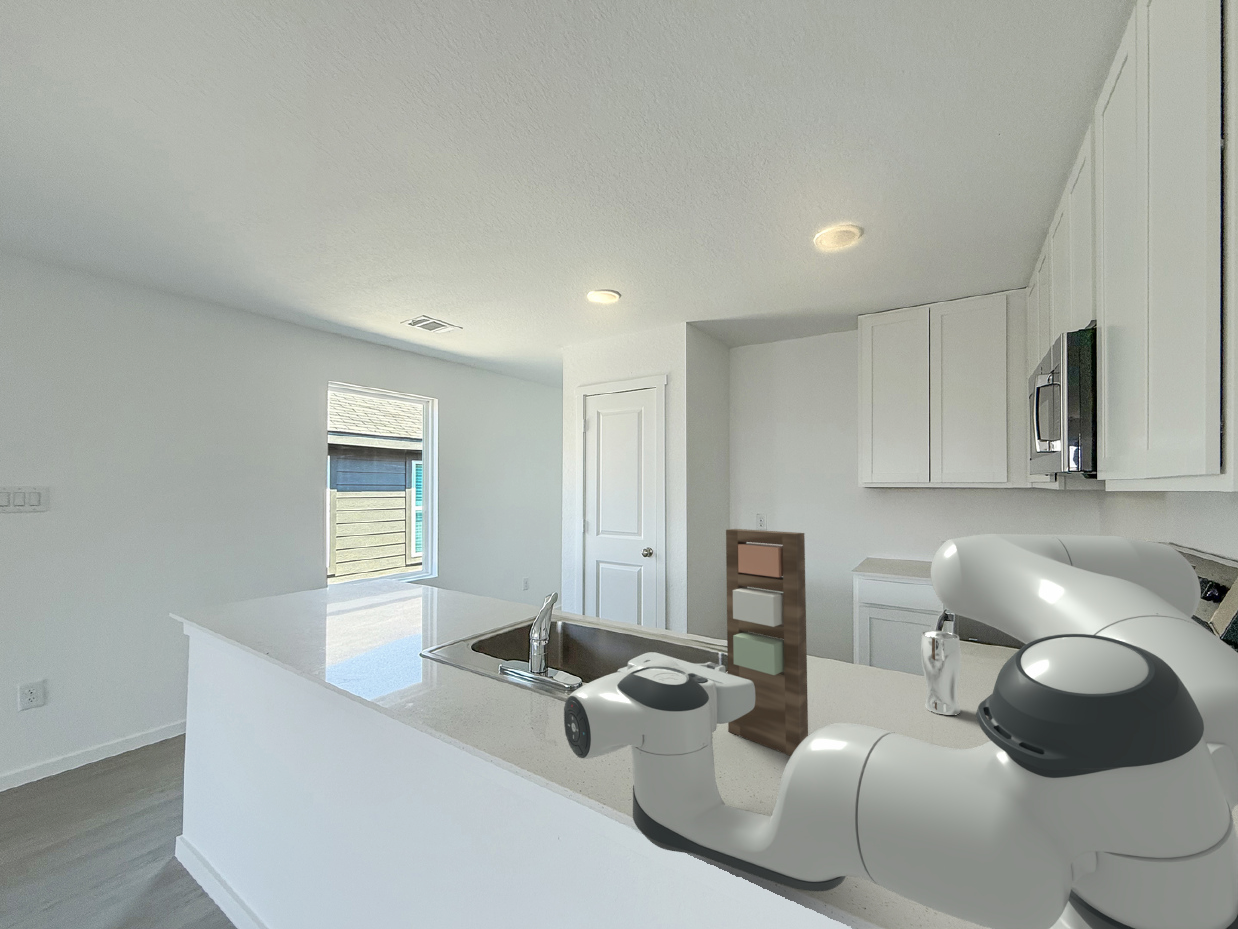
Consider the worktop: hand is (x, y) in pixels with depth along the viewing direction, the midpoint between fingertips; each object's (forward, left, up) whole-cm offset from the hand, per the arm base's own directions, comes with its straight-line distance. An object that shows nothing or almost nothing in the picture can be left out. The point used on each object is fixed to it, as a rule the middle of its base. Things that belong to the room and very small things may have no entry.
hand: (718, 669), depth 85 cm
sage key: (+10, -6, -2) cm, 12 cm away
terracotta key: (+12, -7, +13) cm, 20 cm away
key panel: (+12, -7, -16) cm, 21 cm away
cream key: (+10, -6, +6) cm, 13 cm away
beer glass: (+36, -41, -16) cm, 57 cm away
